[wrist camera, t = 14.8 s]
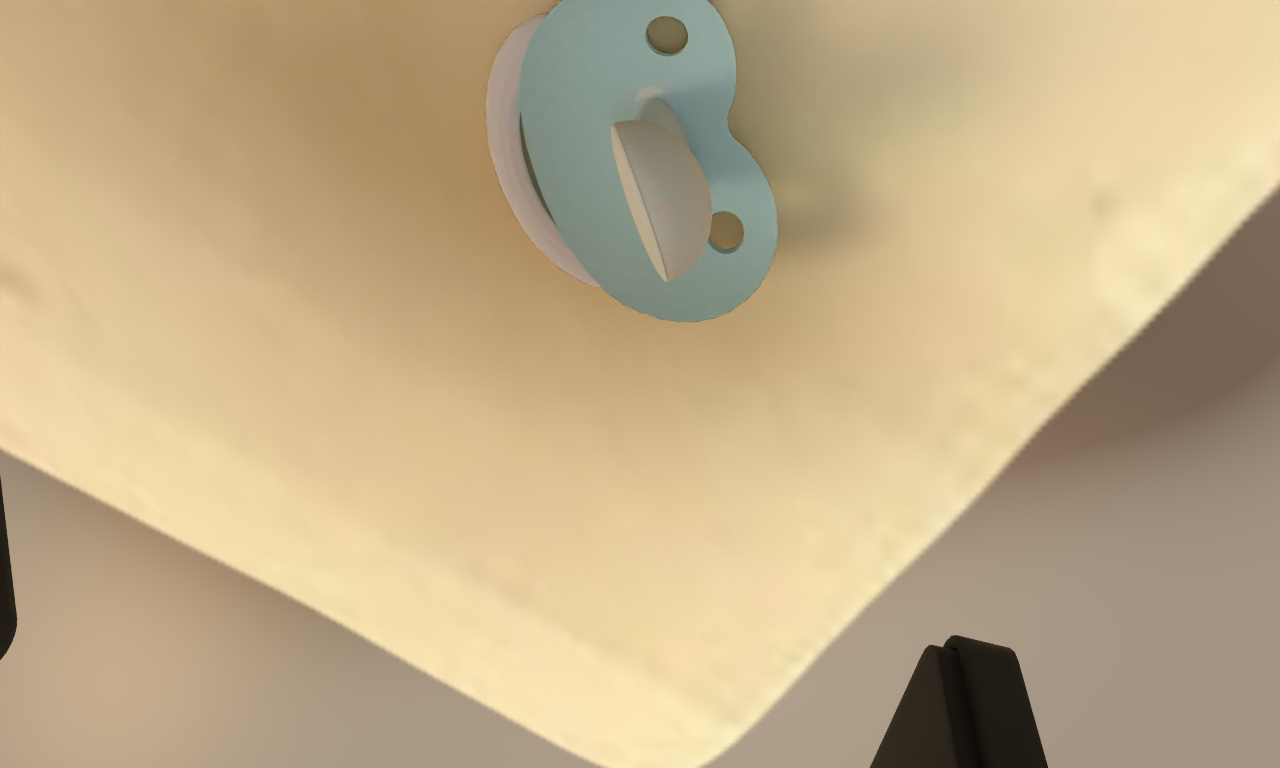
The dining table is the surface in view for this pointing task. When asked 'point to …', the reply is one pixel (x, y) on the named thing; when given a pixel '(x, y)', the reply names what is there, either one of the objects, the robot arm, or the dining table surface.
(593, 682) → the dining table surface
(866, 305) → the dining table surface
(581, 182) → the pacifier
